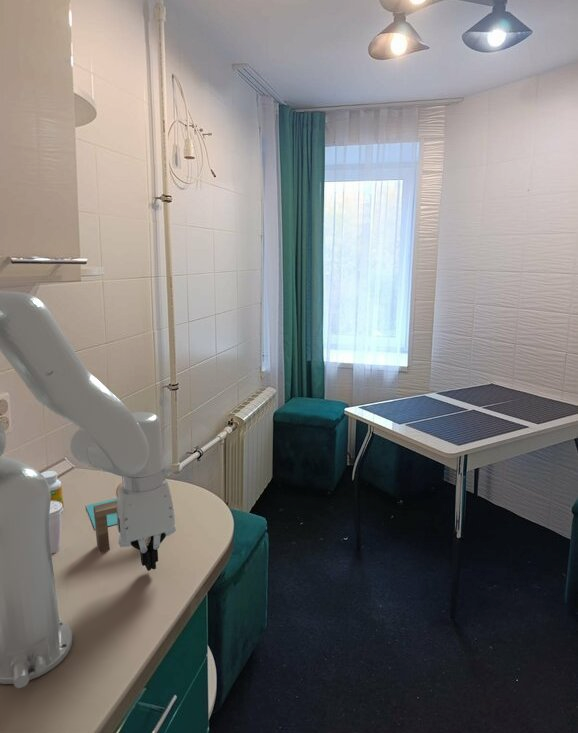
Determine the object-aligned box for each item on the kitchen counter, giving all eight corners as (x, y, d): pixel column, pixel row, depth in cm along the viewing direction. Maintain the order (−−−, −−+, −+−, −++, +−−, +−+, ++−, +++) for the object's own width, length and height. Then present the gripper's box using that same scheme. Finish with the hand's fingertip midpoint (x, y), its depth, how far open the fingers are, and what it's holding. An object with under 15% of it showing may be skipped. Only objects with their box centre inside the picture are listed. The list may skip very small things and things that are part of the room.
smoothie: (29, 550, 109) (21, 488, 106) (59, 538, 114) (52, 478, 111) (41, 562, 105) (33, 498, 102) (72, 548, 110) (65, 487, 107)
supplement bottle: (47, 519, 122) (42, 481, 120) (35, 512, 125) (30, 475, 123) (68, 510, 126) (64, 473, 124) (56, 504, 129) (52, 467, 127)
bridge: (167, 533, 115) (165, 495, 113) (99, 552, 108) (95, 512, 106) (164, 527, 118) (161, 490, 116) (97, 545, 111) (93, 506, 109)
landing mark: (152, 515, 123) (152, 514, 123) (95, 529, 117) (95, 529, 117) (138, 493, 134) (138, 493, 134) (85, 506, 128) (85, 505, 128)
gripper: (176, 463, 104) (181, 546, 108) (97, 480, 96) (106, 568, 100) (188, 477, 97) (193, 564, 101) (105, 496, 90) (114, 589, 94)
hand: (150, 566), depth 101 cm, fingers closed
